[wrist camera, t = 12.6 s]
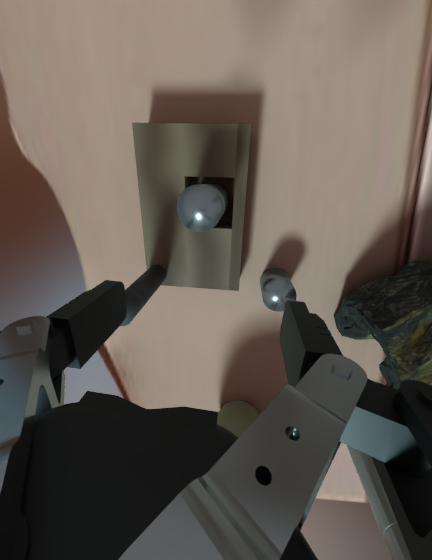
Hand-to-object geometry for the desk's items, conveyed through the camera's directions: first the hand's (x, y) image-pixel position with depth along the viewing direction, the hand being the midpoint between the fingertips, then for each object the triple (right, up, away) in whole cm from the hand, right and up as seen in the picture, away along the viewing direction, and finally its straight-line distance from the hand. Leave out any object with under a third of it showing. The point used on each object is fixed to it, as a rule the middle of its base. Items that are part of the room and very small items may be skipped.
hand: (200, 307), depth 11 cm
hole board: (-2, +10, +19) cm, 21 cm away
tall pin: (0, +11, +18) cm, 21 cm away
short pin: (+9, +1, +21) cm, 23 cm away
